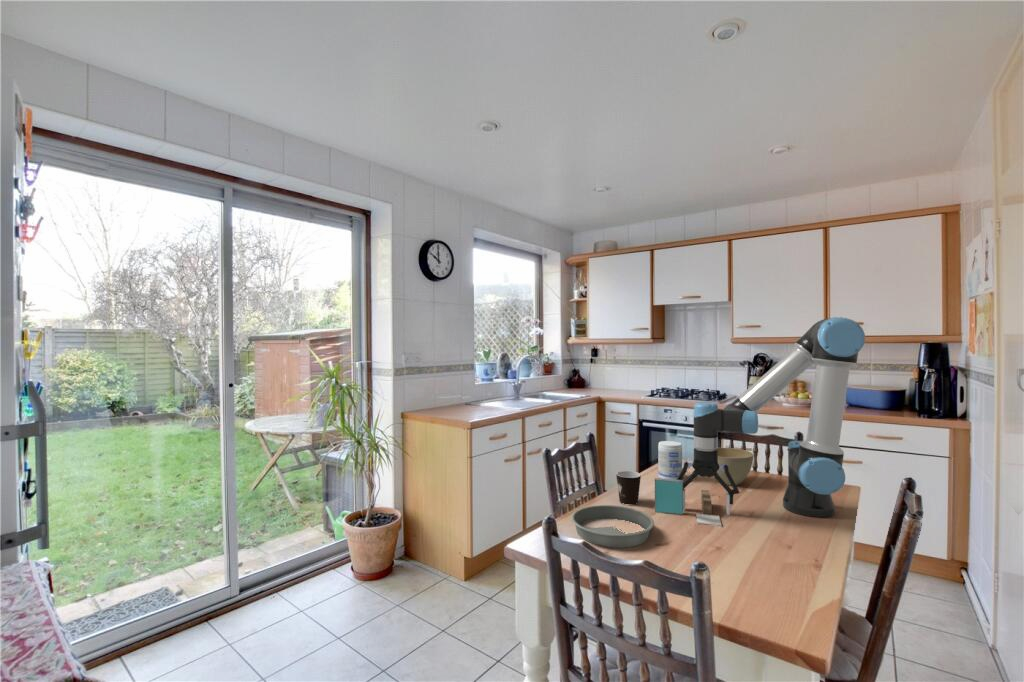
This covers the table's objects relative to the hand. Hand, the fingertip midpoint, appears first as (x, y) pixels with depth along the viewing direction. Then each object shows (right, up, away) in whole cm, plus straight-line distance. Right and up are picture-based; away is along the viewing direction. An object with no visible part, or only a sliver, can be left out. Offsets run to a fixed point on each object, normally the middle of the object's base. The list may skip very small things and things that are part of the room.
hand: (705, 511), depth 161 cm
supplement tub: (+1, 0, +39) cm, 39 cm away
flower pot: (+22, 0, +32) cm, 39 cm away
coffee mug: (-23, -1, +12) cm, 26 cm away
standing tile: (-12, 0, 0) cm, 12 cm away
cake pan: (-35, -1, -16) cm, 38 cm away
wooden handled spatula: (0, 0, -2) cm, 2 cm away
